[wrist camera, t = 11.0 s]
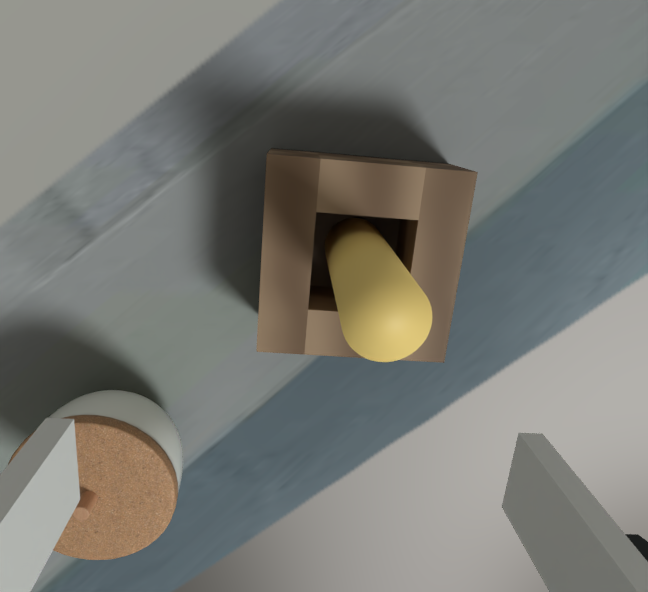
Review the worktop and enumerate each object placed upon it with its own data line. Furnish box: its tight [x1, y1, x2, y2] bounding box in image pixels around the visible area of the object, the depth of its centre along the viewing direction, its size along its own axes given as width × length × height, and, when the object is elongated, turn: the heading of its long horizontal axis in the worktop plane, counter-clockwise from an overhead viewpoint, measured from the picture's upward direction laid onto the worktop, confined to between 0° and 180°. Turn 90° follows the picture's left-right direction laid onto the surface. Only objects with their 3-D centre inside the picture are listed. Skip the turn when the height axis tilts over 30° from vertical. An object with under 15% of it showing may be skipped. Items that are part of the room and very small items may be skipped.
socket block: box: [257, 148, 478, 363], centre depth 34 cm, size 12×12×6 cm
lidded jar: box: [8, 390, 183, 560], centre depth 36 cm, size 11×11×9 cm
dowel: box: [325, 218, 432, 362], centre depth 29 cm, size 4×4×14 cm
